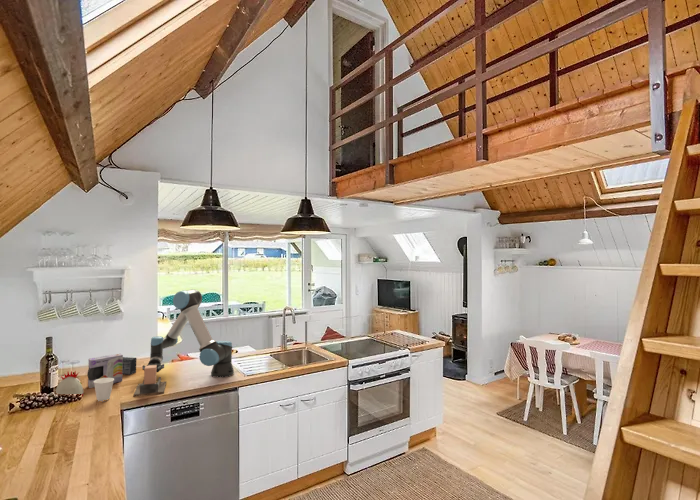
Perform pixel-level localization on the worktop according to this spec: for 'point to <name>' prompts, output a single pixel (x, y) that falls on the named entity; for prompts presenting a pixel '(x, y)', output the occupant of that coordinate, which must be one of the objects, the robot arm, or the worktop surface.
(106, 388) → the cup
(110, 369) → the cake pan box
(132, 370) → the small box
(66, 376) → the red-crested grey dome
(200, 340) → the robot arm
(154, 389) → the grey socket base
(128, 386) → the worktop surface
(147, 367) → the block
